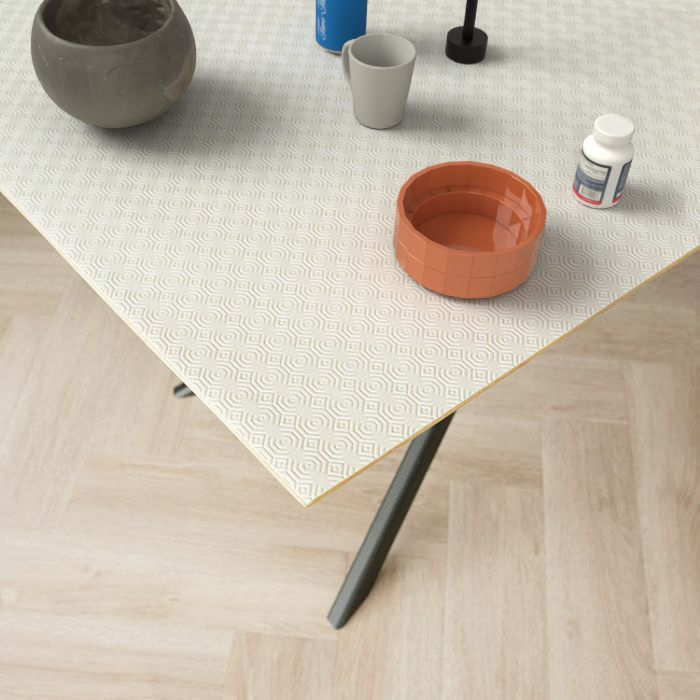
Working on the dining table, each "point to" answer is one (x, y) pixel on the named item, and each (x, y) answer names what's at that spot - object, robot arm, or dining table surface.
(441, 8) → the dining table surface
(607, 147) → the pill bottle
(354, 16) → the beverage can
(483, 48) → the black plunger
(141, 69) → the bowl
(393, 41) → the cup
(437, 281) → the mixing bowl
